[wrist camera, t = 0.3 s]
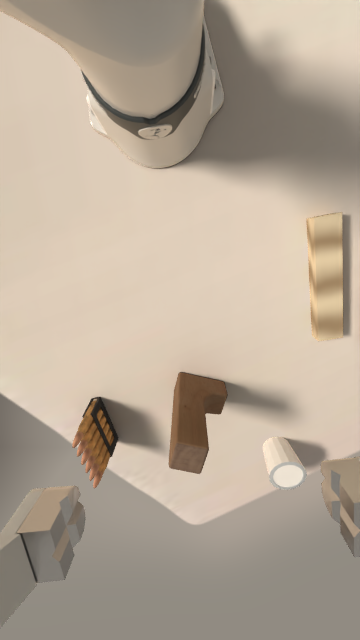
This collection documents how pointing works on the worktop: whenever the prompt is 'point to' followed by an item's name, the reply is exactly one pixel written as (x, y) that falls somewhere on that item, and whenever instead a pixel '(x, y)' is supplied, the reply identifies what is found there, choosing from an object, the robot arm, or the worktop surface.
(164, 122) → the robot arm
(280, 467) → the white cylinder
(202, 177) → the worktop surface
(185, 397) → the wooden block
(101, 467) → the ammunition clip
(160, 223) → the worktop surface
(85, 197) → the worktop surface
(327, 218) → the pine slat
